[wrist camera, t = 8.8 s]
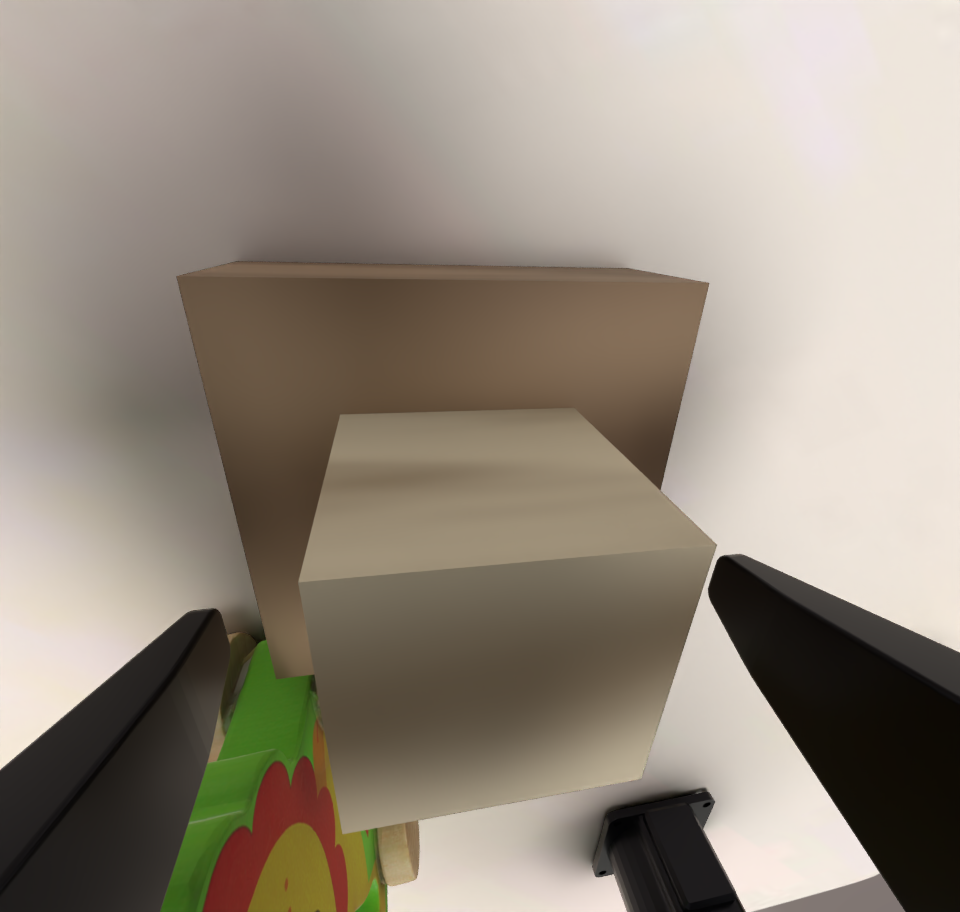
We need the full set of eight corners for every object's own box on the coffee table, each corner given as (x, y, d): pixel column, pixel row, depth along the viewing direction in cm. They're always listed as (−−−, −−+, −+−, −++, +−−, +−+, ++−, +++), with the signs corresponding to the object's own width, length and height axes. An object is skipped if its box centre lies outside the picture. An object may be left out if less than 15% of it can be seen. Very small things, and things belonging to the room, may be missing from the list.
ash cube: (550, 582, 12) (640, 778, 8) (359, 601, 11) (342, 834, 7) (574, 407, 10) (716, 544, 6) (340, 414, 9) (299, 582, 5)
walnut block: (578, 551, 17) (626, 633, 14) (300, 577, 16) (276, 679, 12) (621, 267, 13) (709, 282, 9) (242, 259, 11) (176, 276, 8)
